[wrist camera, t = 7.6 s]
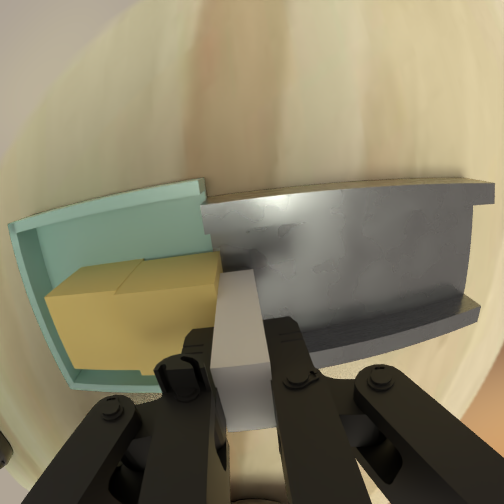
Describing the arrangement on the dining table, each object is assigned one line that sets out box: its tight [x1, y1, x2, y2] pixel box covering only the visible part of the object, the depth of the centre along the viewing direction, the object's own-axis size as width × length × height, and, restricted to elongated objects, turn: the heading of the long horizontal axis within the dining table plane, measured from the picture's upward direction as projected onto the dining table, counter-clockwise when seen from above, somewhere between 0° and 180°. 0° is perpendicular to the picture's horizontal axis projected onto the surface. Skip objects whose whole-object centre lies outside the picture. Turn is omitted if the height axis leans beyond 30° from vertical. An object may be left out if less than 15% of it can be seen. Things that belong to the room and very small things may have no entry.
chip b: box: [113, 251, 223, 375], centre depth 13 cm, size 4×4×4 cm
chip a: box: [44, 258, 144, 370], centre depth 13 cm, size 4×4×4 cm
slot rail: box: [200, 178, 495, 369], centre depth 14 cm, size 16×9×3 cm, turn 97°
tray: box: [8, 177, 213, 393], centre depth 14 cm, size 11×11×2 cm
